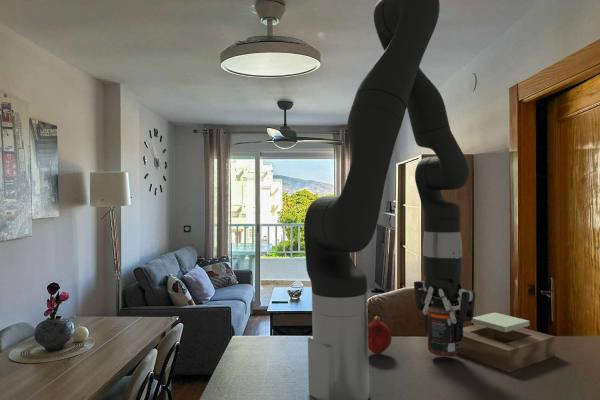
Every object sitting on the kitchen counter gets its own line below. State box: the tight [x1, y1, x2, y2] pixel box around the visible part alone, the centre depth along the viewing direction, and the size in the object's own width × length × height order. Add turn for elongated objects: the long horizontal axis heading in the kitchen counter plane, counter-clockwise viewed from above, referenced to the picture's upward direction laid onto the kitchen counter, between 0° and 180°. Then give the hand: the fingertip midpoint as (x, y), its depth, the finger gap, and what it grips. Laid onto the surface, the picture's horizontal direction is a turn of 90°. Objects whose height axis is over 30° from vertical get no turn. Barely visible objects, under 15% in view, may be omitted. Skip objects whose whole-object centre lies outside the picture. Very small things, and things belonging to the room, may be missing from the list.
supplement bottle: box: [427, 296, 459, 357], centre depth 85 cm, size 6×6×11 cm
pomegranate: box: [368, 315, 392, 356], centre depth 88 cm, size 6×6×8 cm
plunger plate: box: [470, 312, 530, 332], centre depth 88 cm, size 8×8×1 cm
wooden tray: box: [457, 324, 556, 373], centre depth 88 cm, size 15×14×4 cm
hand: (443, 336), depth 85 cm, fingers closed on supplement bottle, 6 cm apart
